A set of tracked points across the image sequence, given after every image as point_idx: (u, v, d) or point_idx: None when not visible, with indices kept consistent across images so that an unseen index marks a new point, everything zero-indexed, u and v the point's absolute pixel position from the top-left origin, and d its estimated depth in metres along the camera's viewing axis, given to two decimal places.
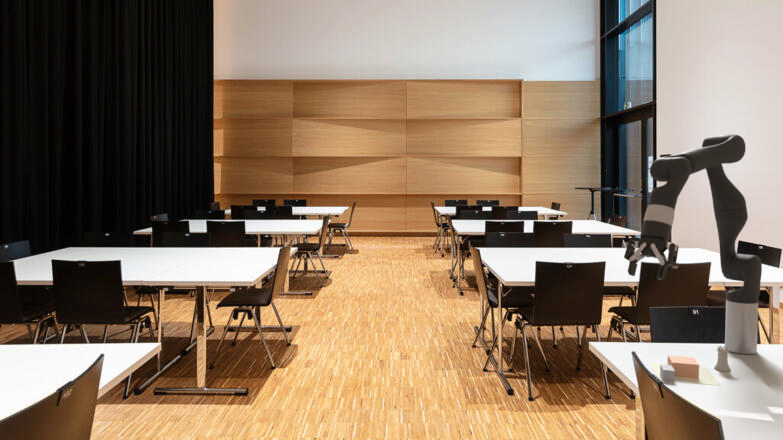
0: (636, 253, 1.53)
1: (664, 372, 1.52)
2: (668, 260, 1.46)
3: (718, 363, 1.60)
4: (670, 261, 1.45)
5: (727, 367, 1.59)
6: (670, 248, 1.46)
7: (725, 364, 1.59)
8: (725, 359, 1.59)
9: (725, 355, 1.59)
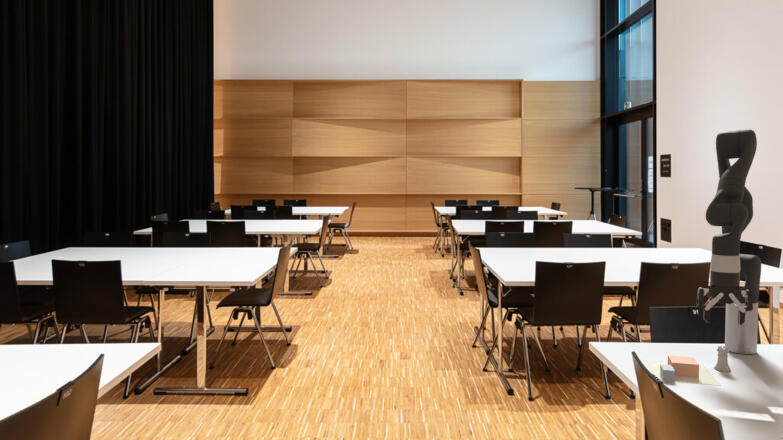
0: (713, 303, 1.59)
1: (664, 372, 1.52)
2: (749, 307, 1.56)
3: (718, 363, 1.60)
4: (751, 308, 1.56)
5: (727, 367, 1.59)
6: (748, 296, 1.56)
7: (725, 364, 1.59)
8: (725, 359, 1.59)
9: (725, 355, 1.59)
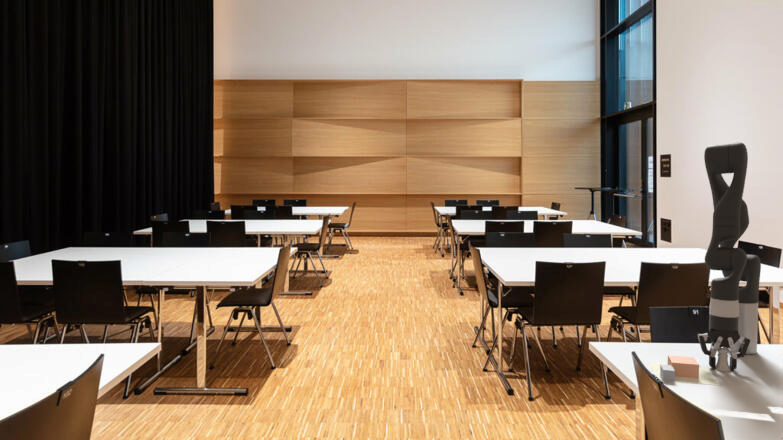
0: (716, 348, 1.59)
1: (664, 372, 1.52)
2: (741, 354, 1.58)
3: (718, 363, 1.60)
4: (743, 355, 1.57)
5: (727, 367, 1.59)
6: (745, 343, 1.57)
7: (725, 364, 1.59)
8: (725, 359, 1.59)
9: (725, 355, 1.59)
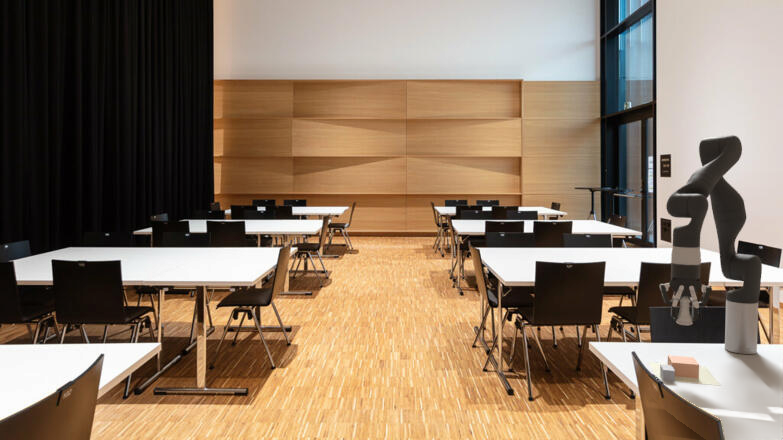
0: (677, 297, 1.55)
1: (664, 372, 1.52)
2: (702, 303, 1.54)
3: (680, 313, 1.56)
4: (705, 304, 1.54)
5: (689, 317, 1.55)
6: (707, 292, 1.53)
7: (687, 313, 1.55)
8: (687, 309, 1.55)
9: (687, 304, 1.55)
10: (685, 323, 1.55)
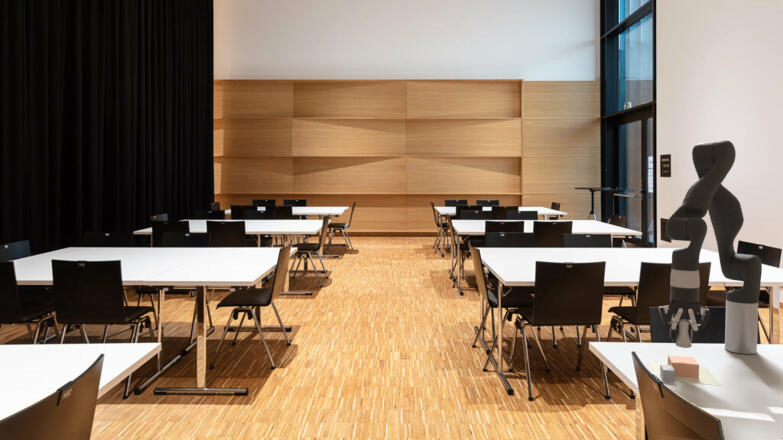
0: (676, 320, 1.56)
1: (664, 372, 1.52)
2: (701, 326, 1.54)
3: (679, 335, 1.57)
4: (704, 327, 1.54)
5: (688, 339, 1.56)
6: (706, 315, 1.54)
7: (686, 336, 1.56)
8: (686, 331, 1.56)
9: (686, 327, 1.56)
10: (684, 346, 1.55)
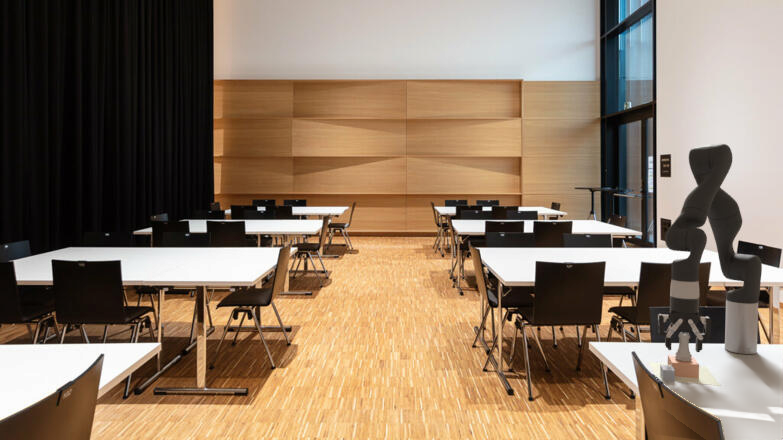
0: (674, 329, 1.56)
1: (664, 372, 1.52)
2: (706, 335, 1.54)
3: (679, 349, 1.57)
4: (708, 336, 1.54)
5: (688, 353, 1.56)
6: (707, 323, 1.54)
7: (686, 350, 1.56)
8: (686, 345, 1.56)
9: (686, 341, 1.56)
10: (684, 360, 1.56)
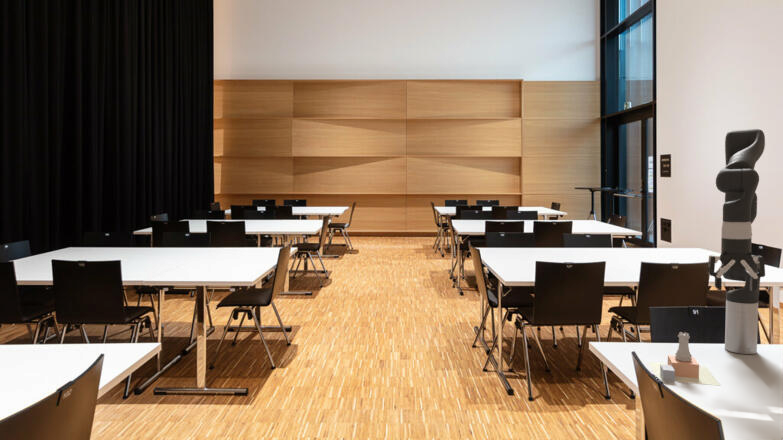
0: (725, 270, 1.58)
1: (664, 372, 1.52)
2: (761, 273, 1.55)
3: (679, 349, 1.57)
4: (764, 274, 1.55)
5: (688, 353, 1.56)
6: (760, 262, 1.55)
7: (686, 350, 1.56)
8: (686, 345, 1.56)
9: (686, 341, 1.56)
10: (684, 360, 1.56)
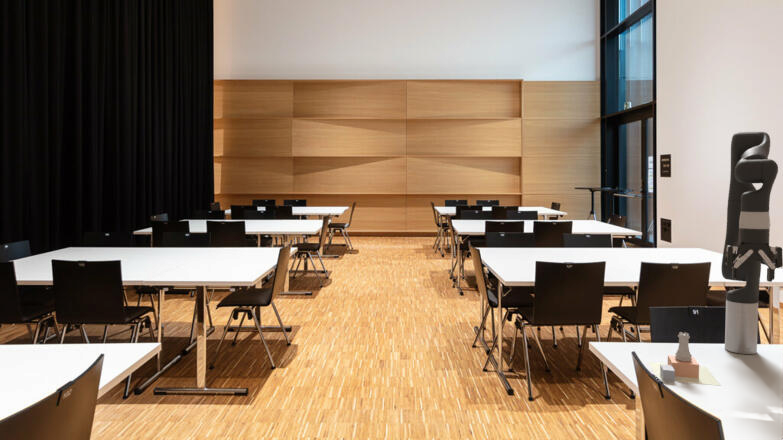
0: (742, 260, 1.58)
1: (664, 372, 1.52)
2: (779, 264, 1.56)
3: (679, 349, 1.57)
4: (781, 265, 1.56)
5: (688, 353, 1.56)
6: (778, 252, 1.56)
7: (686, 350, 1.56)
8: (686, 345, 1.56)
9: (686, 341, 1.56)
10: (684, 360, 1.56)
